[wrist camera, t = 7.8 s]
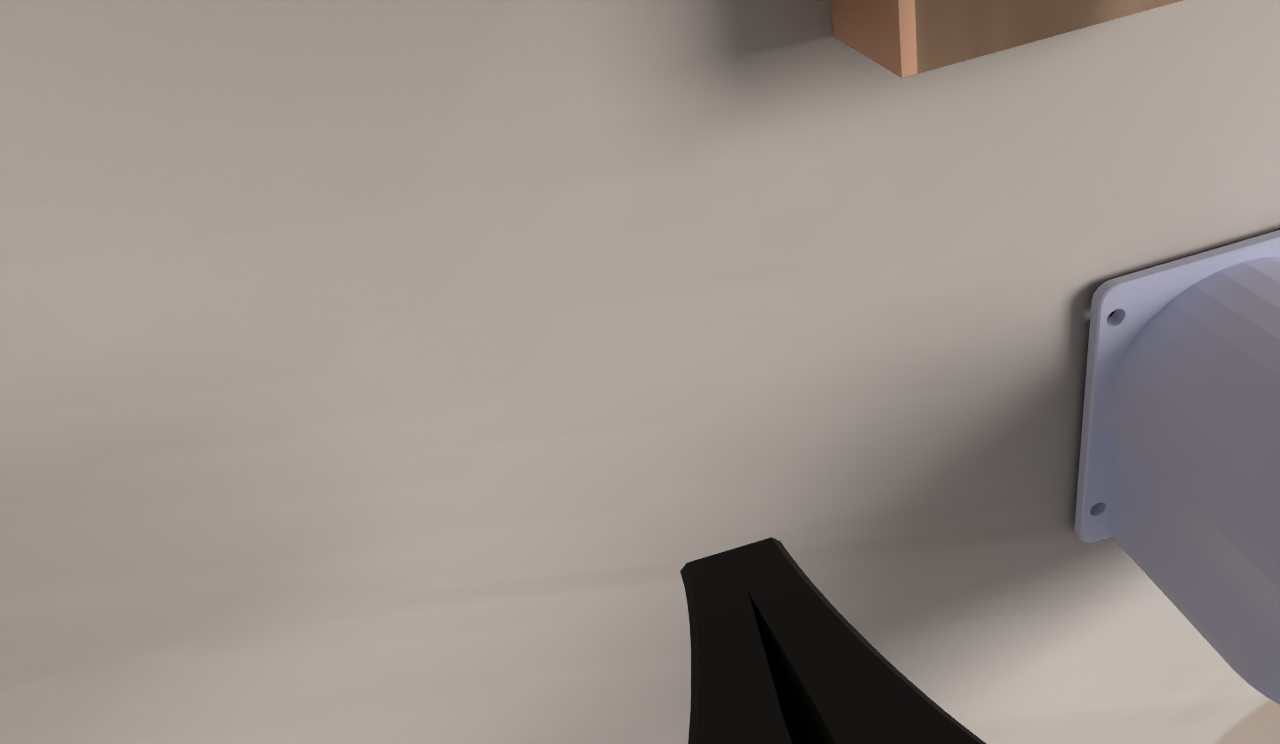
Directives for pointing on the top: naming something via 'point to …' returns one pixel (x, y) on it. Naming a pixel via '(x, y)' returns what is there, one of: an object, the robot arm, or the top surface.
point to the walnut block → (962, 26)
